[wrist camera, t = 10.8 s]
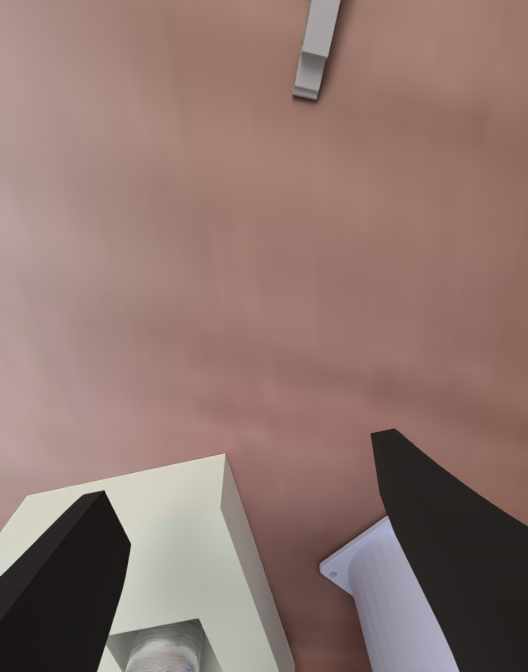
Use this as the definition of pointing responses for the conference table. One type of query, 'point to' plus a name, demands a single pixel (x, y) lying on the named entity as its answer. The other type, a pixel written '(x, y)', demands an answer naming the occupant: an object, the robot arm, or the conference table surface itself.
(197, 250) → the conference table surface
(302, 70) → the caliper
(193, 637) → the tall pin
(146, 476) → the pin board
